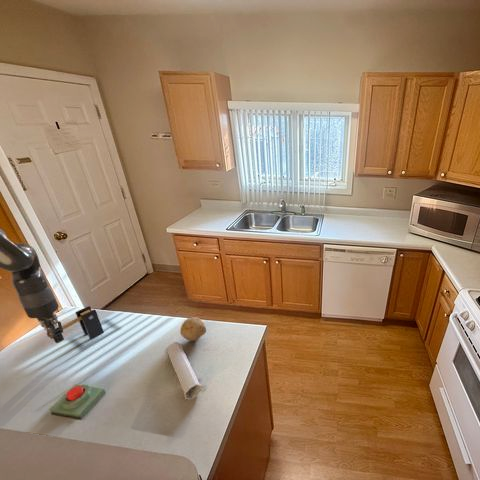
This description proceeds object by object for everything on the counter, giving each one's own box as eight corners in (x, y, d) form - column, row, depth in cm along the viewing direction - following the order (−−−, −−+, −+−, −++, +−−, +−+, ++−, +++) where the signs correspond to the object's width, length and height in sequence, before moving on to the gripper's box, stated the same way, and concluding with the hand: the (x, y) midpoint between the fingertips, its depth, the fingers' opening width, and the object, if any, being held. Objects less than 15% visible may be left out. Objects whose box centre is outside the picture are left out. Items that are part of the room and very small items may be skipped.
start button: (64, 400, 76) (62, 396, 75) (76, 388, 79) (74, 385, 78) (75, 401, 75) (73, 398, 75) (87, 390, 79) (85, 386, 78)
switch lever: (51, 341, 89) (47, 334, 88) (47, 337, 91) (42, 330, 89) (95, 317, 100) (91, 310, 98) (90, 314, 101) (87, 307, 99)
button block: (51, 413, 75) (46, 404, 74) (78, 388, 83) (74, 380, 81) (81, 419, 74) (77, 410, 73) (106, 393, 82) (102, 384, 80)
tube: (161, 346, 95) (181, 394, 78) (175, 336, 98) (197, 381, 81) (169, 353, 98) (189, 402, 81) (182, 344, 101) (205, 389, 84)
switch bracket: (83, 351, 96) (72, 325, 91) (70, 341, 100) (59, 315, 95) (118, 331, 106) (110, 306, 101) (105, 323, 110) (96, 298, 105)
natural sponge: (178, 338, 104) (174, 318, 100) (200, 327, 110) (196, 308, 106) (187, 350, 99) (183, 330, 95) (209, 338, 105) (206, 319, 101)
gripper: (14, 299, 85) (34, 338, 92) (32, 314, 79) (52, 354, 86) (44, 288, 91) (61, 325, 98) (63, 301, 85) (80, 339, 92)
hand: (57, 338), depth 92 cm, fingers closed on switch lever, 3 cm apart
